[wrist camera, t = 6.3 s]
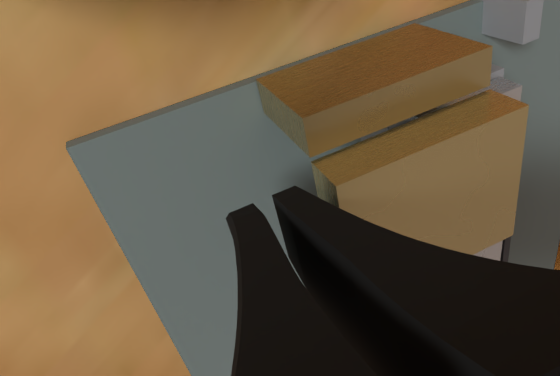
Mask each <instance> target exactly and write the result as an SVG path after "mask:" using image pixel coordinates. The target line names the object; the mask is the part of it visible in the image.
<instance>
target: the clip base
mask: <svg viewBox="0 0 560 376" xmlns="http://www.w3.org/2000/svg"><path fill="white" fill-rule="evenodd" d="M413 23H416V24H420V25H423V26H426V27H430V28H433V29H437V30H440V31H443V32H447V33H450V34H454V35H457V36H460V37H464V38H467V39H471V40H474V41H477V42H481V43H484V44H488V45H491V46H493V50H492V65H491V80H493V79H495V78H498V77H502V78H504V79H507V80H510V81H512V82H515V83H517V84H520V85H522V93H521V102H523V103H526V104H528V105H529V110H528V118H527V126H526V134H525V143H524V151H523V159H522V167H521V175H520V184H519V192H518V200H517V208H516V216H515V225H514V233H513V235H512V236H510V237H508V238H506V239H504V240H503V242H502V250H501V258H500V261H504V262H509V263H515V264H520V265H527V266H534V267H541V268H547V269H554V266H555V261H556V256H557V251H558V246H559V241H560V0H470V1H467V2H464V3H461V4H458V5H456V6H453V7H450V8H447V9H444V10H441V11H438V12H436V13H433V14H430V15H427V16H424V17H421V18H418V19H416V20H413V21H410V22H407V23H404V24H401V25H399V26H396V27H393V28H390V29H387V30H384V31H381V32H379V33H376V34H373V35H370V36H367V37H364V38H362V39H359V40H356V41H353V42H350V43H347V44H344V45H342V46H339V47H336V48H333V49H330V50H327V51H324V52H322V53H319V54H316V55H313V56H310V57H307V58H305V59H302V60H299V61H296V62H293V63H290V64H287V65H285V66H282V67H279V68H276V69H273V70H270V71H267V72H265V73H262V74H259V75H256V76H253V77H250V78H248V79H245V80H242V81H239V82H236V83H233V84H230V85H228V86H225V87H222V88H219V89H216V90H213V91H210V92H208V93H205V94H202V95H199V96H196V97H193V98H191V99H188V100H185V101H182V102H179V103H176V104H173V105H171V106H168V107H165V108H162V109H159V110H156V111H153V112H151V113H148V114H145V115H142V116H139V117H136V118H134V119H131V120H128V121H125V122H122V123H119V124H116V125H114V126H111V127H108V128H105V129H102V130H99V131H96V132H94V133H91V134H88V135H85V136H82V137H79V138H77V139H74V140H71V141H68V142H66V149H67V151H68V153H69V155H70V156H71V158H72V160H73V162H74V164H75V165H76V167H77V169H78V171H79V173H80V175H81V176H82V178H83V180H84V182H85V184H86V185H87V187H88V189H89V191H90V193H91V194H92V196H93V198H94V200H95V202H96V204H97V205H98V207H99V209H100V211H101V213H102V214H103V216H104V218H105V220H106V222H107V223H108V225H109V227H110V229H111V231H112V233H113V234H114V236H115V238H116V240H117V242H118V243H119V245H120V247H121V249H122V251H123V252H124V254H125V256H126V258H127V260H128V262H129V263H130V265H131V267H132V269H133V271H134V272H135V274H136V276H137V278H138V280H139V281H140V283H141V285H142V287H143V289H144V291H145V292H146V294H147V296H148V298H149V300H150V301H151V303H152V305H153V307H154V309H155V310H156V312H157V314H158V316H159V318H160V319H161V321H162V323H163V325H164V327H165V329H166V330H167V332H168V334H169V336H170V338H171V339H172V341H173V343H174V345H175V347H176V348H177V350H178V352H179V354H180V356H181V358H182V359H183V361H184V363H185V365H186V367H187V368H188V370H189V372H190V374H191V376H231V371H232V364H233V357H234V349H235V339H236V328H237V309H238V285H237V266H236V255H235V247H234V241H233V238H232V235H231V232H230V229H229V227H228V224H227V221H226V217H227V216H228V214H229V213H230V212H232V211H235V210H237V209H240V208H242V207H244V206H247V205H249V204H252V203H253V204H254V205H255V206H256V207H257V208H258V209H259V210H260V211H261V212H262V213H263V214H264V215H265V217H266V218H267V220H268V222H269V224H270V226H271V228H272V229H273V231H274V233H275V235H276V237H277V239H278V241H279V243H280V245H281V246H282V248H283V250H284V252H285V254H286V256H287V258H288V260H289V262H290V263H291V261H290V259H289V257H288V253H287V250H286V246H285V242H284V239H283V235H282V231H281V227H280V224H279V220H278V216H277V213H276V209H275V205H274V202H273V198H272V195H273V194H276V193H278V192H281V191H283V190H285V189H288V188H290V187H293V186H297V187H299V188H301V189H303V190H305V191H307V192H309V193H311V194H313V195H315V196H317V191H316V186H315V181H314V176H313V170H312V165H311V161H314V160H316V159H318V158H321V157H323V156H326V155H328V154H331V153H333V152H336V151H338V150H341V149H343V148H346V147H348V146H351V145H353V144H356V143H358V142H361V141H363V140H365V139H368V138H370V137H373V136H375V135H378V134H380V133H383V132H385V131H388V130H390V129H393V128H395V127H398V126H400V125H403V124H405V123H408V122H410V118H408V119H406V120H403V121H401V122H398V123H396V124H393V125H391V126H388V127H386V128H383V129H381V130H378V131H376V132H373V133H371V134H368V135H366V136H363V137H361V138H358V139H356V140H353V141H351V142H348V143H346V144H343V145H341V146H338V147H336V148H333V149H331V150H328V151H326V152H323V153H321V154H319V155H316V156H314V157H311V158H310V157H309V156H308V155H307V154H306V153H305V152H304V151H302V150H301V149H300V148H299V147H298V146H297V145H296V144H295V143H294V142H293V141H292V140H291V139H290V138H289V137H288V136H287V135H286V134H285V133H284V132H283V131H282V130H281V129H280V128H279V127H278V126H277V125H276V124H275V123H274V122H273V121H272V120H271V119H270V118H269V117H268V116H267V115H266V114H265V113H264V111H263V107H262V103H261V99H260V95H259V91H258V87H257V83H256V79H257V78H260V77H263V76H266V75H269V74H272V73H274V72H277V71H280V70H283V69H286V68H289V67H291V66H294V65H297V64H300V63H303V62H306V61H308V60H311V59H314V58H317V57H320V56H323V55H325V54H328V53H331V52H334V51H337V50H340V49H342V48H345V47H348V46H351V45H354V44H357V43H360V42H362V41H365V40H368V39H371V38H374V37H377V36H379V35H382V34H385V33H388V32H391V31H394V30H396V29H399V28H402V27H405V26H408V25H411V24H413ZM317 197H318V196H317ZM291 265H292V267H293V269H294V271H295V273H296V274H297V276H298V277H299V275H298V273H297V272H296V270H295V268H294V266H293V264H292V263H291ZM299 279H300V277H299ZM300 281H301V282H302V280H301V279H300ZM302 284H303V282H302ZM303 285H304V284H303ZM304 287H305V286H304ZM305 288H306V287H305Z"/></svg>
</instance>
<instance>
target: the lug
mask: <svg viewBox="0 0 560 376" xmlns="http://www.w3.org/2000/svg"><path fill="white" fill-rule="evenodd" d="M492 50H493V46H491V45H488V44H484V43H481V42H477V41H474V40H471V39H467V38H464V37H460V36H457V35H454V34H450V33H447V32H443V31H440V30H437V29H433V28H430V27H426V26H423V25H420V24H416V23H413V24H411V25H408V26H405V27H402V28H399V29H396V30H394V31H391V32H388V33H385V34H382V35H379V36H377V37H374V38H371V39H368V40H365V41H362V42H360V43H357V44H354V45H351V46H348V47H345V48H342V49H340V50H337V51H334V52H331V53H328V54H325V55H323V56H320V57H317V58H314V59H311V60H308V61H306V62H303V63H300V64H297V65H294V66H291V67H289V68H286V69H283V70H280V71H277V72H274V73H272V74H269V75H266V76H263V77H260V78H257V79H256V83H257V87H258V91H259V95H260V99H261V103H262V107H263V111H264V113H265V114H266V115H267V116H268V117H269V118H270V119H271V120H272V121H273V122H274V123H275V124H276V125H277V126H278V127H279V128H280V129H281V130H282V131H283V132H284V133H285V134H286V135H287V136H288V137H289V138H290V139H291V140H292V141H293V142H294V143H295V144H296V145H297V146H298V147H299V148H300V149H301V150H302V151H304V152H305V153H306V154H307V155H308V156H309V157H310V158H311V157H314V156H316V155H319V154H321V153H323V152H326V151H328V150H331V149H333V148H336V147H338V146H341V145H343V144H346V143H348V142H351V141H353V140H356V139H358V138H361V137H363V136H366V135H368V134H371V133H373V132H376V131H378V130H381V129H383V128H386V127H388V126H391V125H393V124H396V123H398V122H401V121H403V120H406V119H408V118H411V117H413V116H415V115H418V114H420V113H423V112H425V111H428V110H430V109H433V108H435V107H438V106H440V105H443V104H445V103H448V102H450V101H453V100H455V99H458V98H460V97H463V96H465V95H468V94H470V93H473V92H475V91H478V90H480V89H483V88H485V87H488V86H490V80H491V65H492ZM528 110H529V105H528V104H526V103H523V102H521V101H518V100H516V99H513V98H511V97H508V96H506V95H503V94H501V93H498V92H496V91H493V90H491V89H489V90H487V91H484V92H482V93H479V94H477V95H474V96H472V97H469V98H467V99H464V100H462V101H459V102H457V103H455V104H452V105H450V106H447V107H445V108H442V109H440V110H437V111H435V112H432V113H430V114H427V115H425V116H422V117H420V118H417V119H415V120H412V121H410V122H408V123H405V124H403V125H400V126H398V127H395V128H393V129H390V130H388V131H385V132H383V133H380V134H378V135H375V136H373V137H370V138H368V139H365V140H363V141H361V142H358V143H356V144H353V145H351V146H348V147H346V148H343V149H341V150H338V151H336V152H333V153H331V154H328V155H326V156H323V157H321V158H318V159H316V160H314V161H311V165H312V170H313V176H314V181H315V186H316V191H317V196H318V197H319V198H321V199H322V200H324V201H326V202H328V203H330V204H332V205H334V206H336V207H338V208H340V209H342V210H344V211H347V212H349V213H351V214H353V215H355V216H357V217H360V218H362V219H364V220H366V221H368V222H371V223H373V224H376V225H378V226H380V227H383V228H386V229H388V230H391V231H393V232H396V233H399V234H401V235H404V236H407V237H410V238H413V239H416V240H419V241H423V242H426V243H429V244H433V245H436V246H439V247H443V248H446V249H450V250H454V251H458V252H462V253H466V254H471V255H474V254H476V253H478V252H480V251H482V250H484V249H486V248H488V247H490V246H492V245H494V244H496V243H498V242H500V241H502V240H504V239H506V238H508V237H510V236H512V235H513V233H514V225H515V216H516V208H517V200H518V192H519V184H520V175H521V167H522V159H523V151H524V143H525V134H526V126H527V118H528Z"/></svg>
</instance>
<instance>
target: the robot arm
mask: <svg viewBox="0 0 560 376" xmlns="http://www.w3.org/2000/svg"><path fill="white" fill-rule="evenodd" d="M272 198H273V202H274V205H275V209H276V213H277V216H278V220H279V224H280V227H281V231H282V235H283V239H284V242H285V246H286V250H287V253H288V257H289V259H290V261H291V263H292V264H293V266H294V268H295V270H296V272H297V273H298V275H299V277H300V279H301V280H302V282H303V284H304V285H303V284H302V282H301V281H300V279H299V277H298V276H297V274H296V273H295V271H294V269H293V267H292V265H291V263H290V262H289V260H288V258H287V256H286V254H285V252H284V250H283V248H282V246H281V245H280V243H279V241H278V239H277V237H276V235H275V233H274V231H273V229H272V228H271V226H270V224H269V222H268V220H267V218H266V217H265V215H264V214H263V213H262V212H261V211H260V210H259V209H258V208H257V207H256V206H255V205H254V204H253V203H252V204H249V205H247V206H244V207H242V208H240V209H237V210H235V211H232V212H230V213H229V214H228V216H227V217H226V221H227V224H228V227H229V229H230V232H231V235H232V238H233V241H234V247H235V255H236V266H237V285H238V309H237V328H236V339H235V349H234V357H233V364H232V371H231V376H560V270H554V269H547V268H541V267H534V266H527V265H520V264H515V263H509V262H504V261H498V260H493V259H489V258H484V257H480V256H475V255H471V254H466V253H462V252H458V251H454V250H450V249H446V248H443V247H439V246H436V245H433V244H429V243H426V242H423V241H419V240H416V239H413V238H410V237H407V236H404V235H401V234H399V233H396V232H393V231H391V230H388V229H386V228H383V227H380V226H378V225H376V224H373V223H371V222H368V221H366V220H364V219H362V218H360V217H357V216H355V215H353V214H351V213H349V212H347V211H344V210H342V209H340V208H338V207H336V206H334V205H332V204H330V203H328V202H326V201H324V200H322V199H321V198H319V197H317V196H315V195H313V194H311V193H309V192H307V191H305V190H303V189H301V188H299V187H297V186H293V187H290V188H288V189H285V190H283V191H281V192H278V193H276V194H273V195H272ZM304 286H305V287H306V288H305V287H304Z"/></svg>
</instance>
